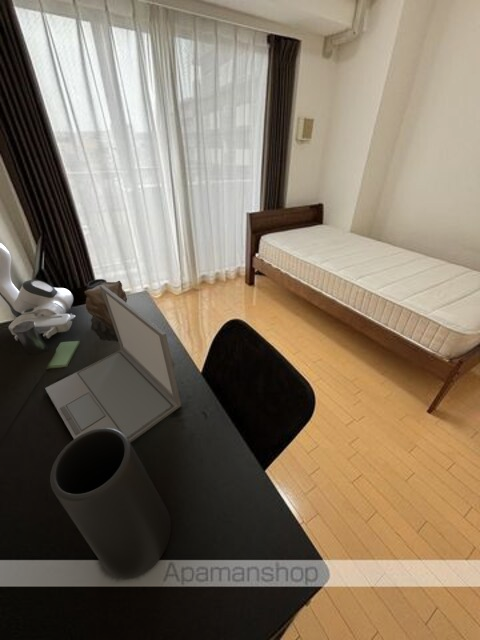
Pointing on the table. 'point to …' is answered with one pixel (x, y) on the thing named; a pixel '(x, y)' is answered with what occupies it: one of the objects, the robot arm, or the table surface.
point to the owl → (103, 309)
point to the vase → (112, 501)
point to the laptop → (121, 380)
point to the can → (30, 338)
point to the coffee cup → (95, 283)
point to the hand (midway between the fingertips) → (31, 338)
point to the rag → (63, 354)
